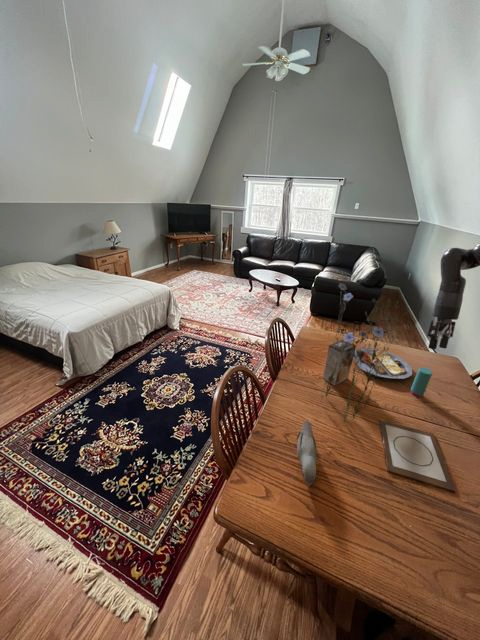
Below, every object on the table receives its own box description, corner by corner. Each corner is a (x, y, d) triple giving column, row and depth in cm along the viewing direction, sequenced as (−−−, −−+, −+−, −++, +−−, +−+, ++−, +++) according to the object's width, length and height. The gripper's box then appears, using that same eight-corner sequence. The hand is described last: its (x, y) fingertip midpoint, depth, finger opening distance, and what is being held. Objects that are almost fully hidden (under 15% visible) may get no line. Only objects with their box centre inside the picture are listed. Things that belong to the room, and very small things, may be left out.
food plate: (345, 349, 134) (346, 343, 132) (392, 352, 133) (394, 346, 132) (364, 381, 111) (366, 374, 110) (420, 384, 111) (423, 377, 109)
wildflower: (387, 419, 92) (433, 296, 73) (344, 447, 81) (385, 310, 62) (336, 382, 109) (362, 275, 90) (294, 401, 98) (314, 283, 79)
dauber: (420, 392, 106) (430, 368, 102) (423, 399, 103) (434, 375, 98) (408, 389, 108) (417, 366, 103) (410, 396, 104) (420, 372, 99)
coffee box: (335, 370, 117) (343, 338, 110) (348, 378, 112) (357, 345, 106) (321, 377, 112) (329, 344, 105) (334, 386, 107) (343, 352, 100)
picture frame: (432, 434, 87) (433, 433, 87) (454, 492, 70) (455, 490, 70) (379, 420, 92) (379, 419, 91) (387, 471, 74) (388, 470, 74)
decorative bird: (297, 486, 69) (301, 467, 66) (294, 436, 84) (297, 418, 81) (318, 490, 69) (323, 470, 66) (312, 439, 83) (315, 421, 80)
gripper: (451, 306, 90) (440, 352, 92) (468, 307, 97) (457, 350, 100) (426, 302, 96) (417, 346, 99) (444, 304, 104) (435, 345, 106)
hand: (437, 348), depth 99 cm, fingers open, 8 cm apart
